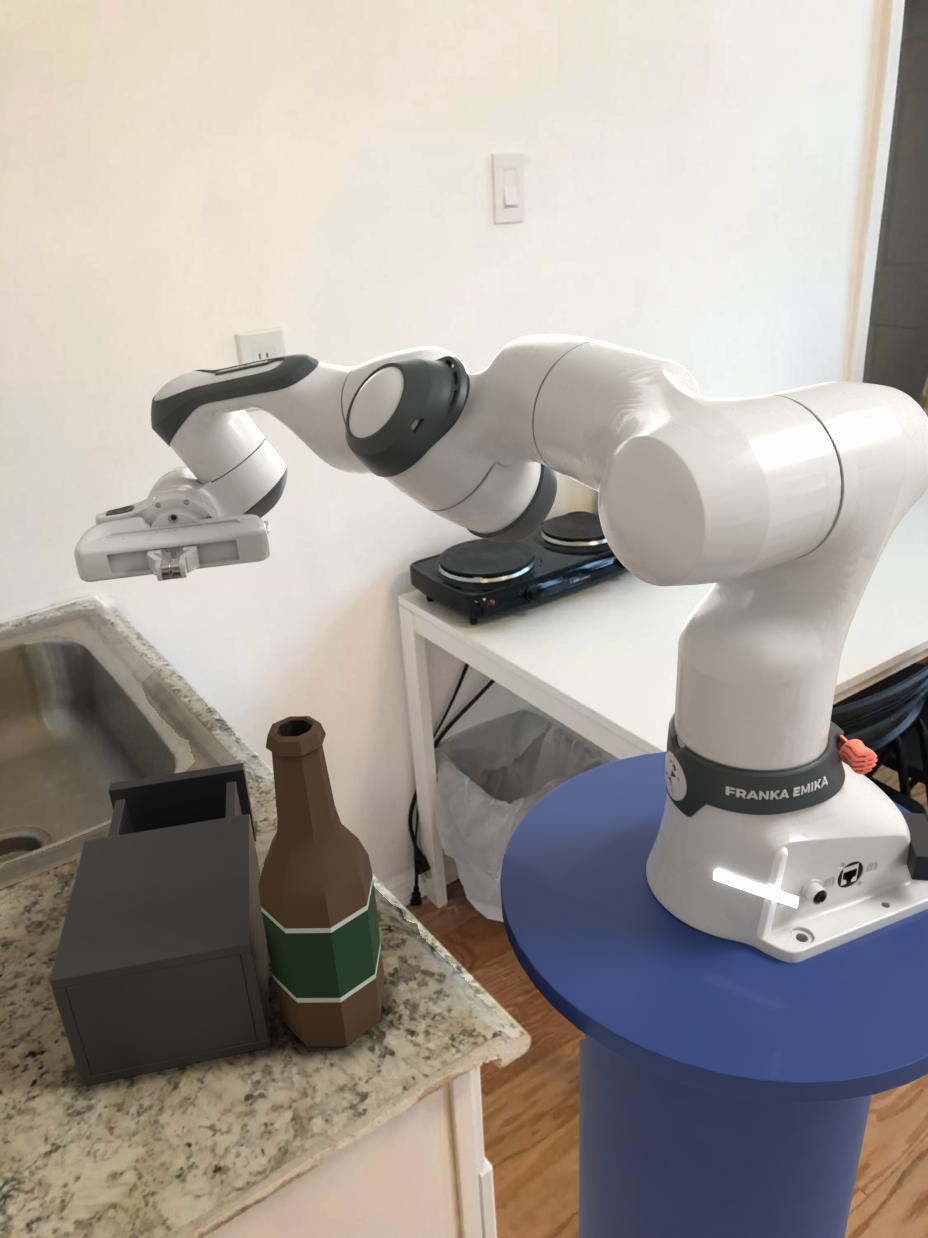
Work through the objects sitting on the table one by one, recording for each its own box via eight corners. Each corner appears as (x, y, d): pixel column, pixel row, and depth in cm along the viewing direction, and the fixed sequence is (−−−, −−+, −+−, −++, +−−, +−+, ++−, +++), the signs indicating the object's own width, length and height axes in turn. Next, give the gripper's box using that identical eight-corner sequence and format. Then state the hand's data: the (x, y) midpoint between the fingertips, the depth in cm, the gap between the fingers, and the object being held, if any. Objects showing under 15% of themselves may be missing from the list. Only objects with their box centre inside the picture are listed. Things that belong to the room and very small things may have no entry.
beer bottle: (406, 986, 70) (379, 707, 60) (353, 1068, 63) (312, 771, 53) (318, 957, 73) (278, 687, 63) (259, 1032, 66) (204, 746, 56)
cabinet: (109, 935, 76) (84, 840, 72) (266, 907, 78) (249, 813, 74) (82, 1087, 63) (49, 981, 59) (270, 1048, 65) (250, 943, 61)
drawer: (133, 827, 88) (116, 757, 85) (255, 807, 90) (243, 737, 87) (108, 964, 72) (86, 884, 69) (258, 936, 74) (243, 857, 71)
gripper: (273, 545, 111) (277, 588, 98) (94, 566, 107) (74, 613, 95) (266, 494, 108) (269, 531, 96) (82, 514, 105) (60, 555, 92)
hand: (170, 572), depth 95 cm, fingers closed
